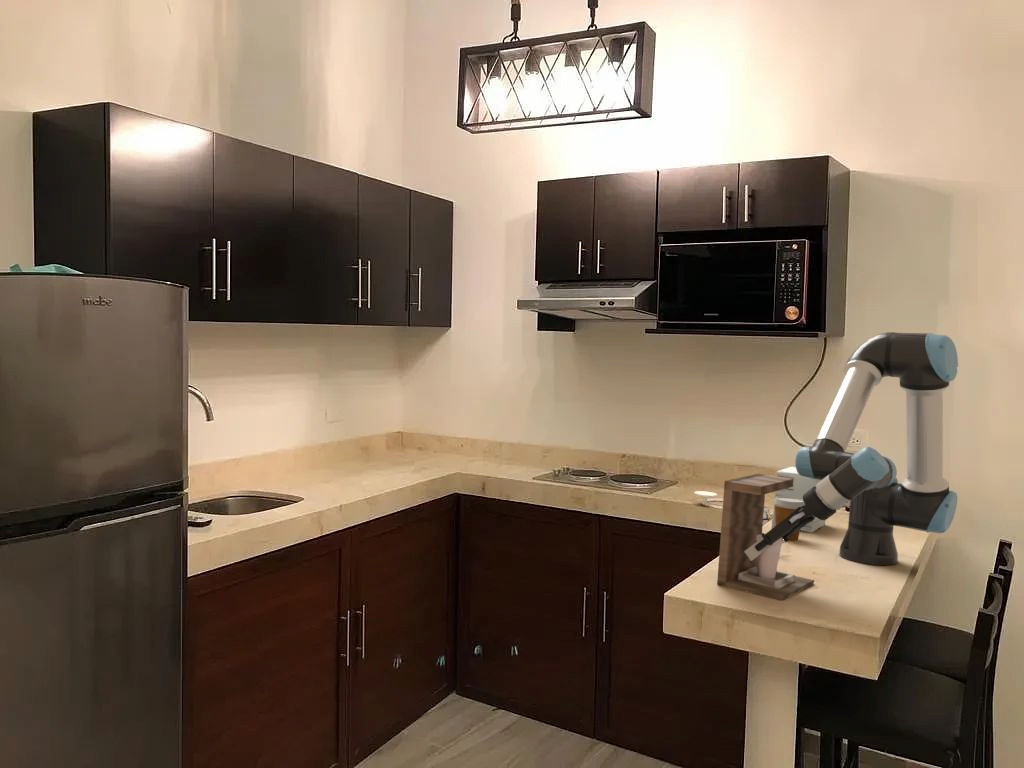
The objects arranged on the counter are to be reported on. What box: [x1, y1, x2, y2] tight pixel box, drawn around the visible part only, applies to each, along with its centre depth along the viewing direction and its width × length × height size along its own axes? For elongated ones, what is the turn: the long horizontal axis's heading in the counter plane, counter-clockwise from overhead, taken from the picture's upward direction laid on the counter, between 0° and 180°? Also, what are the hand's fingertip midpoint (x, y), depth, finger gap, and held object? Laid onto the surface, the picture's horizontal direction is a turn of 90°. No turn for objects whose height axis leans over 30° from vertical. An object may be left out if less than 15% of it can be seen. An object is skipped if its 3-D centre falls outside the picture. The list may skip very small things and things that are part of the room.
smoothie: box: [756, 518, 784, 579], centre depth 210 cm, size 6×6×14 cm
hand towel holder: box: [694, 490, 723, 510], centre depth 313 cm, size 17×4×21 cm
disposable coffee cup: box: [773, 497, 805, 542], centre depth 263 cm, size 10×10×12 cm
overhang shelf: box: [716, 473, 815, 601], centre depth 210 cm, size 20×16×25 cm
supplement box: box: [772, 466, 826, 533], centre depth 284 cm, size 17×13×18 cm
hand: (754, 553), depth 212 cm, fingers closed on smoothie, 6 cm apart
